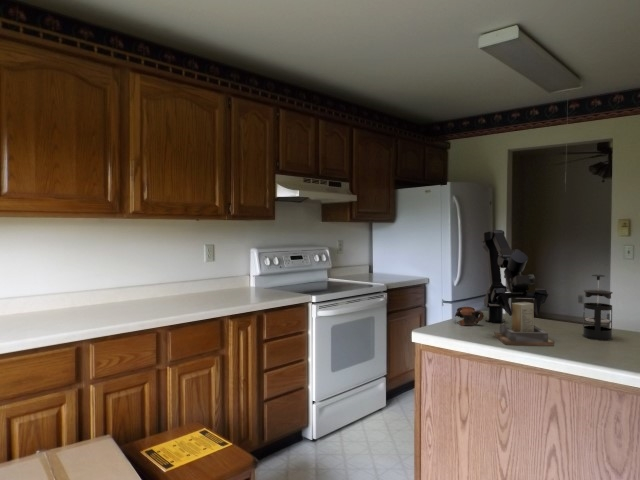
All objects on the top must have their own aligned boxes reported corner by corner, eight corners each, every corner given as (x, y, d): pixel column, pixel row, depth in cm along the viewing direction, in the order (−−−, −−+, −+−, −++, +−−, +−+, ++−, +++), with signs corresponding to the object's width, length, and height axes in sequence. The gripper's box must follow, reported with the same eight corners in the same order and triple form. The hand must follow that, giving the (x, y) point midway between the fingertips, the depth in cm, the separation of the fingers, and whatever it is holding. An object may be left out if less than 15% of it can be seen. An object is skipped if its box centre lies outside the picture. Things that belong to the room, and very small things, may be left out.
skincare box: (524, 334, 166) (524, 301, 165) (534, 337, 162) (534, 303, 161) (510, 336, 163) (511, 302, 163) (520, 339, 159) (520, 304, 159)
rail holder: (494, 335, 169) (494, 324, 169) (539, 336, 168) (539, 325, 168) (505, 344, 156) (505, 332, 156) (554, 345, 155) (554, 333, 155)
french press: (613, 342, 160) (614, 276, 160) (582, 338, 165) (583, 275, 164) (611, 335, 170) (612, 273, 170) (582, 332, 175) (583, 272, 174)
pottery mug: (452, 326, 188) (451, 307, 192) (461, 332, 194) (459, 314, 198) (481, 322, 181) (479, 302, 185) (489, 329, 188) (487, 310, 192)
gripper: (493, 266, 166) (502, 301, 155) (546, 266, 164) (559, 302, 154) (487, 285, 174) (495, 319, 164) (538, 285, 173) (549, 320, 162)
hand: (524, 315), depth 160 cm, fingers open, 9 cm apart
